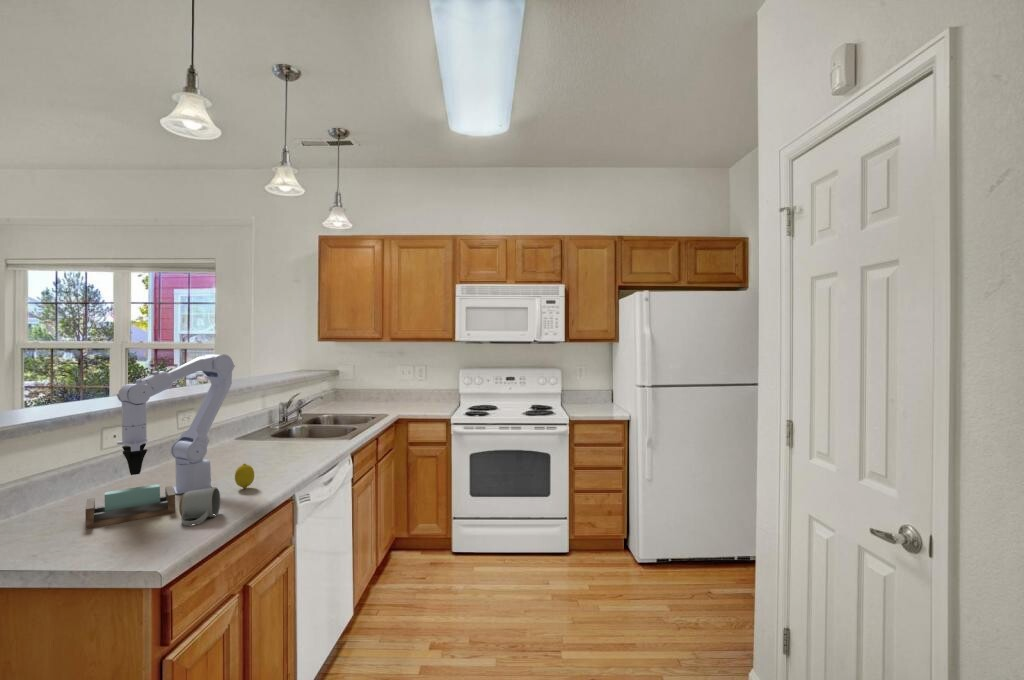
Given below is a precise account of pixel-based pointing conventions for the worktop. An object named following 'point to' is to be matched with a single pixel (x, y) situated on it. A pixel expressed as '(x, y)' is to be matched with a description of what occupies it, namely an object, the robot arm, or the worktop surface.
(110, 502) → the long teal rectangular block
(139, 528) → the worktop surface
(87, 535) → the worktop surface
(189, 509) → the ceramic mug
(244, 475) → the lemon
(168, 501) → the track board
